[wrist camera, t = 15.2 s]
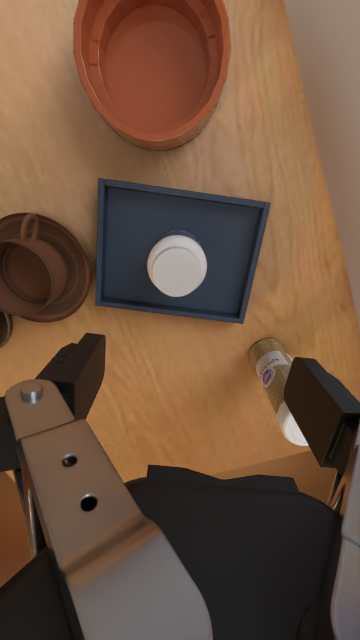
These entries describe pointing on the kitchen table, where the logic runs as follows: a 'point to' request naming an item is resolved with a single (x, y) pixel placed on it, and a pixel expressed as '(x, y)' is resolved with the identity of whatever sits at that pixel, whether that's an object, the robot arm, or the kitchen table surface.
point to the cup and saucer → (41, 269)
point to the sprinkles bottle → (276, 383)
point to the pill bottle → (177, 263)
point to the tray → (168, 215)
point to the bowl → (153, 65)
